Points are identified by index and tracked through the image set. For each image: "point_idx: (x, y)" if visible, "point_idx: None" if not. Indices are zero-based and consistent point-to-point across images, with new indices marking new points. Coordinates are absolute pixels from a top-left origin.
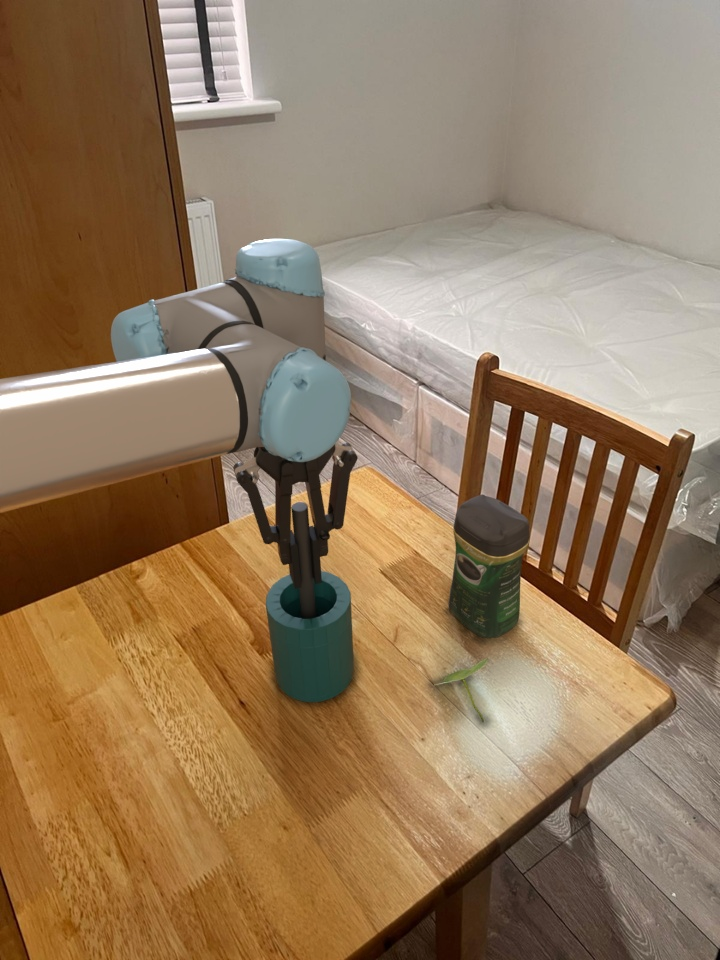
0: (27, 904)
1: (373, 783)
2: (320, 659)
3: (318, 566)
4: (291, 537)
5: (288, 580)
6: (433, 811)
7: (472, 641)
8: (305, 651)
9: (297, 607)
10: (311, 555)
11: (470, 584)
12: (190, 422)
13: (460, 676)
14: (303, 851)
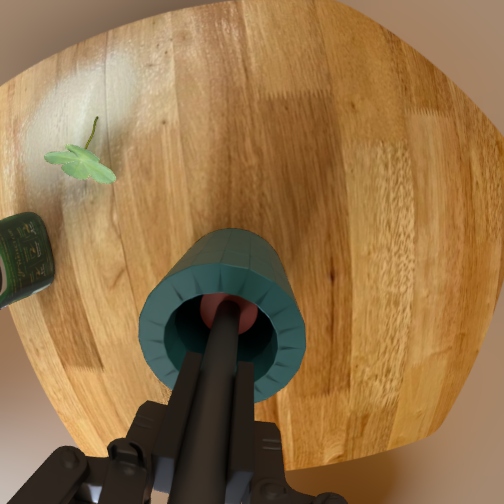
0: None
1: (245, 97)
2: (240, 245)
3: (181, 384)
4: (234, 489)
5: None
6: (205, 47)
7: (53, 223)
8: (263, 260)
9: None
10: (188, 419)
11: (3, 258)
12: None
13: (80, 156)
14: (345, 76)
